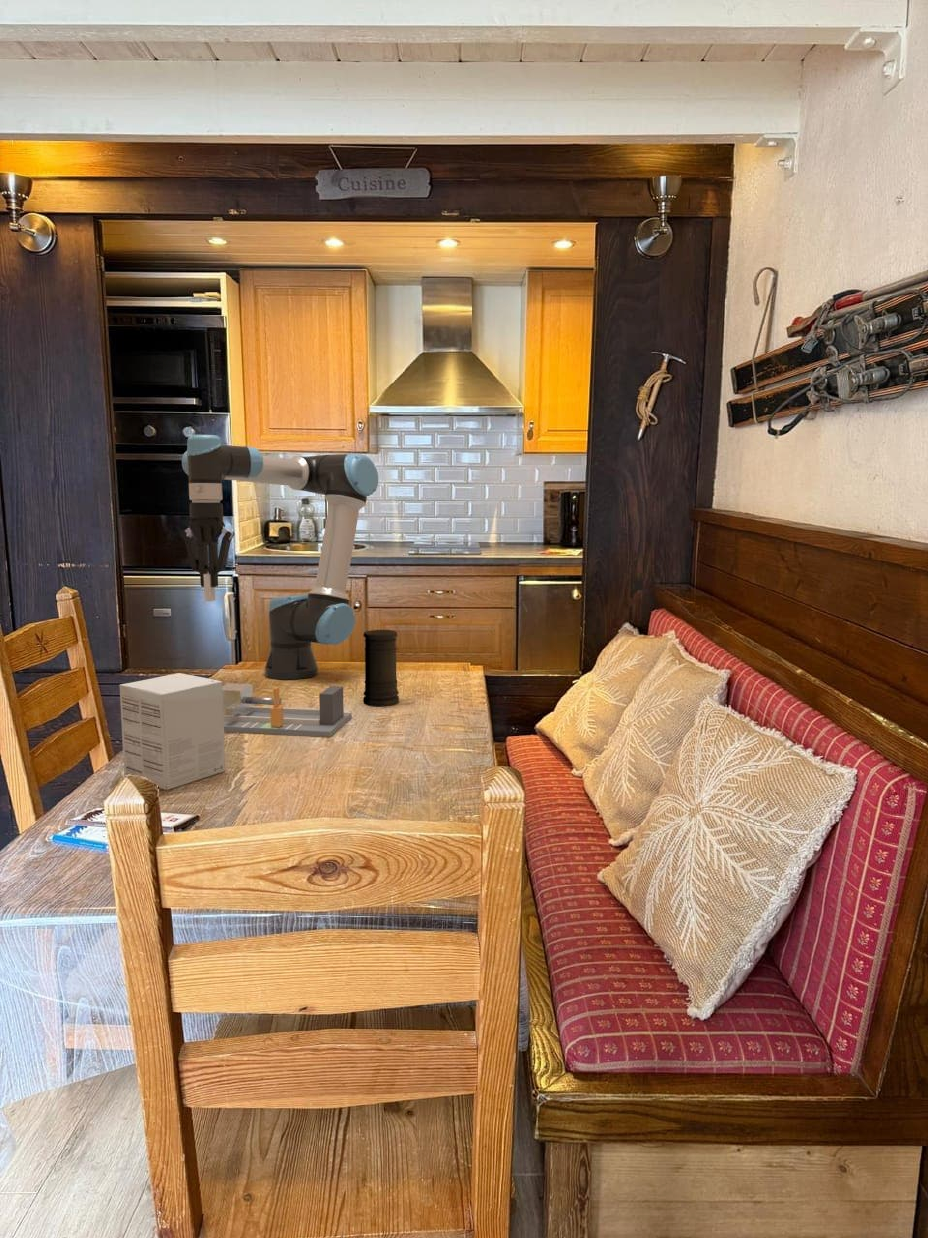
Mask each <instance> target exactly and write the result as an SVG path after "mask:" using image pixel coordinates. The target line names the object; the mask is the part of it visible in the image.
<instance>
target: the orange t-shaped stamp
mask: <svg viewBox="0 0 928 1238" xmlns="http://www.w3.org/2000/svg"><path fill="white" fill-rule="evenodd" d="M272 695H273V697H272V698H274V705H273V706H271V707H272V708H270V717H271V726H272V727H280V726H281V725H283V708H284V706H283V705H282V706H281V705H279V698H280V687H279V686H275V687H274V688H273V693H272Z"/></svg>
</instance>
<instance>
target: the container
mask: <svg viewBox="0 0 928 1238" xmlns="http://www.w3.org/2000/svg"><path fill="white" fill-rule="evenodd" d="M362 635H363V637H364V638H365V639H364V643H365V647H364V662H365V663H364V666H365V667H364V668H365V670H364V674H365V675H364V677H365V679H364V692H363V695H364V697H363V698H362V701H363V704H364V705H367V706H370V707H390V706H394V705H396V704H398V703H399V701H400V697H399V690H398V678H397V677H398V676H397V644H396V643H397V637H398V632H397V631H395V630H391V629H372V630H367V631H364V632H363V634H362Z"/></svg>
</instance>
